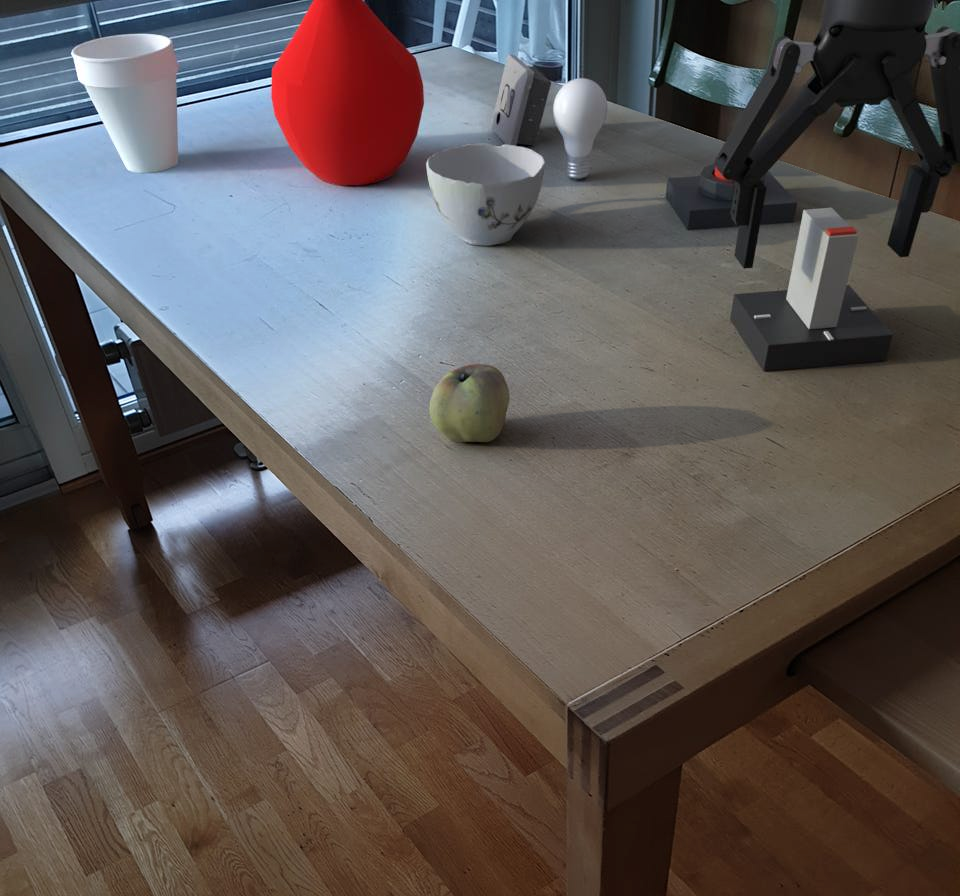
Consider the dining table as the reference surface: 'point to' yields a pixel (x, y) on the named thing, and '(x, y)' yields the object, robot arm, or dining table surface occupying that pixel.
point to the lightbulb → (579, 121)
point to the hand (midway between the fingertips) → (820, 256)
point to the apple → (470, 404)
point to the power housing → (723, 201)
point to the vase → (347, 94)
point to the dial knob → (821, 267)
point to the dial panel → (807, 333)
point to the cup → (134, 96)
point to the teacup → (485, 189)
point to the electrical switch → (520, 103)
